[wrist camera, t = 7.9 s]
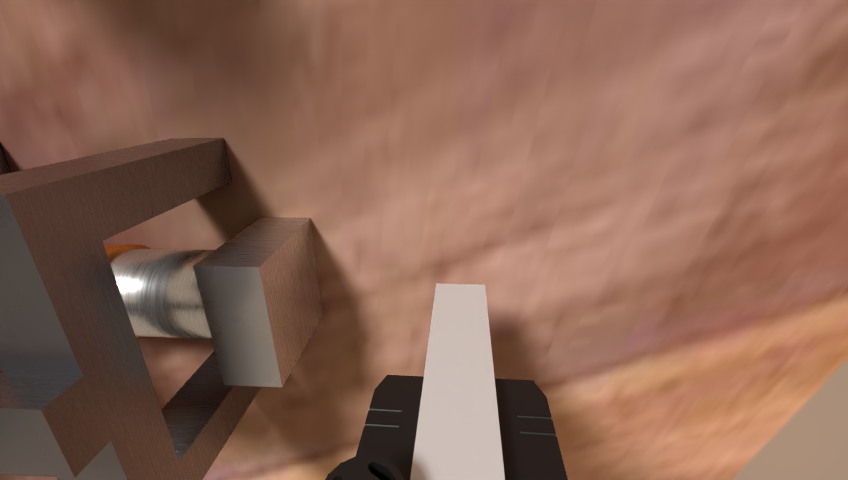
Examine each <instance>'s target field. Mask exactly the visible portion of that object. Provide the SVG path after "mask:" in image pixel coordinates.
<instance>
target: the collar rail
mask: <svg viewBox="0 0 848 480" xmlns="http://www.w3.org/2000/svg"><path fill="white" fill-rule="evenodd" d="M231 181H232V179H231V174H230V169H229V164H228V159H227V154H226V150H225V145H224V140H223V138H193V139H168V140H163V141H158V142H153V143H149V144H144V145H139V146H135V147H130V148H125V149H121V150H116V151H111V152H106V153H102V154H97V155H92V156H88V157H83V158H78V159H73V160H69V161H64V162H59V163H55V164H50V165H45V166H41V167H36V168H31V169H26V170H22V171H17V172H12V173H11V172H10V169H9V167H8V164H7V162H6V159H5V157H4V155H3V152H2V150H1V147H0V474H15V475H31V476H48V477H57V478H58V480H203V478H204V476H205V475H206V473H207V472H208V470H209V468H210V467H211V465H212V464H213V462H214V461H215V459H216V457H217V456H218V454H219V453H220V451H221V449H222V448H223V446H224V445H225V443H226V442H227V440H228V438H229V437H230V435H231V434H232V432H233V431H234V429H235V427H236V426H237V424H238V423H239V421H240V419H241V418H242V416H243V415H244V413H245V412H246V410H247V408H248V407H249V405H250V404H251V402H252V400H253V399H254V397H255V396H256V394H257V393H258V391H259V389H260V388H261V387H259V386H234V385H224V383H223V379H222V375H221V371H220V368H219V364H218V360H217V356H216V352H215V350H214V352H213V353H212V354H211V355H210V356H209V357H208V358H207V359H206V361H205V362H204V363H203V364H202V365H201V366H200V367H199V368H198V370H197V371H196V372H195V373H194V374H193V375H192V376H191V378H190V379H189V380H188V381H187V382H186V383H185V384H184V385H183V387H182V388H181V389H180V390H179V391H178V392H177V393H176V394H175V396H174V397H173V398H172V399H171V400H170V401H169V402H168V403H167V405H166V406H165V407H164V408H163V409H162V410H161V408H160V405H159V402H158V399H157V396H156V393H155V391H154V388H153V385H152V382H151V379H150V376H149V373H148V370H147V368H146V365H145V362H144V359H143V356H142V353H141V350H140V348H139V345H138V342H137V339H136V336H135V333H134V330H133V327H132V325H131V322H130V319H129V316H128V313H127V310H126V307H125V304H124V302H123V299H122V296H121V293H120V290H119V287H118V284H117V282H116V279H115V276H114V273H113V270H112V267H111V264H110V261H109V259H108V256H107V253H106V250H105V247H104V244H103V240H105V239H107V238H110V237H112V236H114V235H116V234H118V233H120V232H123V231H125V230H127V229H129V228H131V227H134V226H136V225H138V224H140V223H142V222H144V221H147V220H149V219H151V218H153V217H155V216H157V215H160V214H162V213H164V212H166V211H168V210H171V209H173V208H175V207H177V206H179V205H181V204H184V203H186V202H188V201H190V200H192V199H194V198H197V197H199V196H201V195H203V194H205V193H208V192H210V191H212V190H214V189H216V188H218V187H221V186H223V185H225V184H227V183H229V182H231Z"/></svg>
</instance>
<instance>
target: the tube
mask: <svg viewBox="0 0 848 480" xmlns="http://www.w3.org/2000/svg"><path fill="white" fill-rule="evenodd" d="M104 247H105V250H106V253H107V256H108V259H109V261H110V264H111V267H112V270H113V273H114V276H115V279H116V282H117V284H118V287H119V290H120V293H121V296H122V299H123V302H124V304H125V307H126V310H127V313H128V316H129V319H130V322H131V325H132V327H133V330H134V333H135V336H136V338H138V337H173V338H204V339H212V341H213V345H214V349H215V352H216V356H217V360H218V364H219V368H220V371H221V375H222V379H223V383H224V385H234V386H259V387H283V385H284V383H285V382H286V380H287V378H288V376H289V375H290V373H291V371H292V369H293V367H294V366H295V364H296V362H297V360H298V359H299V357H300V355H301V353H302V351H303V350H304V348H305V346H306V344H307V343H308V341H309V339H310V337H311V335H312V334H313V332H314V330H315V328H316V327H317V325H318V323H319V321H320V319H321V318H322V316H323V309H322V302H321V294H320V287H319V279H318V272H317V264H316V256H315V249H314V241H313V234H312V226H311V219H310V218H267V217H261V218H259V219H258V220H257V221H255V222H254V223H252V224H251V225H250V226H248V227H247V228H245V229H244V230H243V231H241V232H240V233H238V234H237V235H236V236H234V237H233V238H231V239H230V240H229V241H227V242H226V243H224V244H223V245H222V246H220V247H219V248H217V249H216V250H192V249H150V248H149V247H146V246H143V245H118V244H104Z"/></svg>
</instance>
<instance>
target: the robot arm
mask: <svg viewBox="0 0 848 480" xmlns="http://www.w3.org/2000/svg"><path fill="white" fill-rule="evenodd" d="M325 480H568V479H567V475H566V471H565V468H564V464H563V460H562V456H561V452H560V448H559V444H558V441H557V437H556V435H555V429H554V425H553V421H552V420H551V413H550V410H549V406H548V402H547V398H546V396H545V395H544V394H543V392H542V391H541V390H540V389H539V387H538V386H537V385H536V384H535V382H534V381H530V380H509V379H495V378H494V368H493V358H492V349H491V339H490V329H489V319H488V310H487V300H486V290H485V285H469V284H436V289H435V297H434V304H433V312H432V319H431V327H430V334H429V342H428V349H427V357H426V364H425V372H424V377H419V376H399V375H387V376H386V377H385V378H384V379H383V381H382V382H381V383H380V384H379V385H378V386H377V388H376V389H375V390H374V394H373V397H372V401H371V405H370V410H369V412H368V415H367V419H366V422H365V427H364V429H363V433H362V436H361V440H360V443H359V447H358V450H357V454H356V457H354V458H351V459H349V460H347V461H345V462H343V463H341V464H339V465H338V466H337V467H336V468H335V469H334V470H333V471H332V472H331V473H329V474H328V476H327V478H326V479H325Z"/></svg>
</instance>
